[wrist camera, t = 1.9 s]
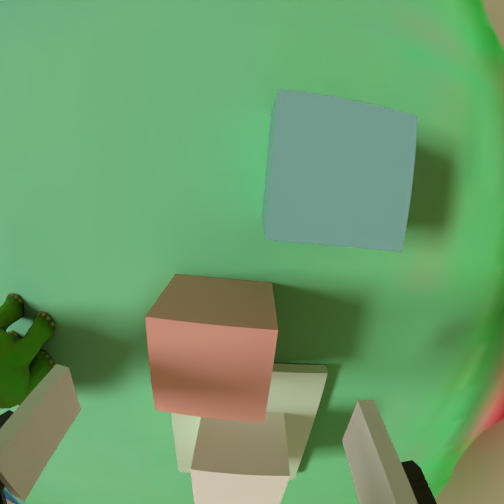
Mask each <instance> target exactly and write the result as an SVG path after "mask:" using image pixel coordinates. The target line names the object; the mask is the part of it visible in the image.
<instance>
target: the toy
mask: <svg viewBox="0 0 504 504" xmlns="http://www.w3.org/2000/svg"><path fill="white" fill-rule="evenodd" d="M23 313H24V307H23V302H22V300H21V299H20V298H19V296H18V295H15V294H9V295H8V296H7V298H6V301H5V302H4V304H3V305H2V306H1V307H0V408H11V407H13V406H16V405H18V404H19V405H21V403H22V402H23V401H24V400H25V399H26V398H27V396H28V395H29V394H30V393H31V392H32V391H33V390H34V389H35V387H36V386H37V385H38V384H39V383H40V382H41V381H42V380H43V378H44V377H45V376H46V375H47V374H48V373H49V372H50V371H51V370H52V368H53V367H54V366H55V364H54V363H53V360H52V359H51V358H50V357H49V355H48V354H46V353H45V352H44V351H41V352H39V350H40V349H41V347H42V345H43V344H44V343H45V341H47V340H48V339H50V338H51V337H52V336H53V334H54V329H55V326H54V323H53V322H52V320H51V318H50V316H47V315H46V313H44V312H43V313H42V312H38V314H37V316H36V317H35V319H34V322H33V324H32V326H31V327H30V329H29V330H28V332H27V333H26V335H25V337H23V338H22V339H19V337H18V334H17V333H15V332H13V331H11V332H9V331H8V333H7V332H6V329H7V328H8V327H9V326H10V325H11V324H12V323H14V322H15V321H17V320H19V319H20V318H22V316H23V315H24V314H23Z"/></svg>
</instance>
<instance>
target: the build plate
mask: <svg viewBox="0 0 504 504" xmlns="http://www.w3.org/2000/svg"><path fill="white" fill-rule="evenodd" d="M327 375H328V372H327V369H326V366H325V365H302V364H278V363H274V364H273V370H272V377H271V383H270V390H269V396H268V402H267V408H266V414H265V420H264V422H249V421H235V420H224V419H214V418H205V417H197V416H190V415H183V414H176V413H171V416H172V425H173V433H174V441H175V449H176V456H177V463H178V469H179V471H180V472H187V473H191V478H192V487H193V495H194V504H280V502H281V500H282V497H283V494H284V492H285V489H286V486H287V483H288V480H294V478H295V475H296V473H297V470H298V467H299V464H300V462H301V459H302V456H303V453H304V450H305V447H306V444H307V441H308V438H309V435H310V432H311V429H312V426H313V423H314V420H315V416H316V413H317V410H318V407H319V403H320V400H321V396H322V393H323V389H324V386H325V382H326V378H327Z"/></svg>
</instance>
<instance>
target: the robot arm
mask: <svg viewBox="0 0 504 504" xmlns="http://www.w3.org/2000/svg"><path fill="white" fill-rule="evenodd" d="M80 410H81V407H80V404H79V401H78V398H77V394H76V391H75V388H74V384H73V380H72V377H71V373H70V369H69V367H65V366H62V365H59V364H56V365H55V366H54V367H53V368H52V370H51V371H50V372H49V373H48V374H47V375H46V376H45V377H44V378H43V380H42V381H41V382H40V383H39V384H38V385H37V386H36V387H35V389H34V390H33V391H32V392H31V393H30V394H29V395H28V396H27V398H26V399H25V400H24V401H23V402H22V403H21V405H20V406H19V407H18V408H17V409H16V410H15V412H12V411H10V410H9V411H7V412H5V413H3V414H2V415H0V504H7V502H6V497H5V494H4V492H3V489H4V487H6V488H7V490H8V491H9V492H10V493H11V494H12V495H14V496H16V497H17V498H19V499H21V500H23V501H24V502H25V500H26V498H27V496H28V495H29V493H30V491H31V489H32V488H33V486H34V484H35V483H36V481H37V479H38V477H39V476H40V474H41V472H42V471H43V469H44V467H45V466H46V464H47V462H48V461H49V459H50V458H51V456H52V454H53V453H54V451H55V449H56V448H57V446H58V445H59V443H60V441H61V440H62V438H63V437H64V435H65V434H66V432H67V430H68V429H69V427H70V426H71V424H72V423H73V421H74V420H75V418H76V416H77V415H78V413H79V412H80ZM342 442H343V446H344V449H345V453H346V456H347V460H348V464H349V467H350V471H351V475H352V479H353V482H354V486H355V490H356V494H357V497H358V501H359V504H437V503H436V501H435V499H434V497H433V494H432V492H431V490H430V488H429V487H428V483H427V481H426V480H425V477H424V475H423V472H422V470H421V468H420V467H419V466H418V465H417V464H416V463H415V462H414V461H412V460H411V461H406V462H400V459H399V457H398V455H397V452H396V450H395V448H394V445H393V443H392V441H391V438H390V436H389V434H388V432H387V429H386V427H385V425H384V423H383V420H382V418H381V416H380V414H379V412H378V409H377V407H376V405H375V403H374V401H373V400H359V401H357V403H356V406H355V409H354V411H353V414H352V417H351V419H350V422H349V424H348V427H347V429H346V432H345V434H344V437H343V439H342Z"/></svg>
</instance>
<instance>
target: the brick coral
mask: <svg viewBox="0 0 504 504" xmlns="http://www.w3.org/2000/svg"><path fill="white" fill-rule="evenodd" d="M145 319H146V333H147V345H148V355H149V365H150V374H151V382H152V390H153V398H154V405H155V410H159V411H164V412H170V413H176V414H183V415H190V416H197V417H205V418H214V419H224V420H235V421H249V422H264V420H265V414H266V408H267V402H268V396H269V390H270V383H271V377H272V370H273V364H274V357H275V350H276V343H277V336H278V323H277V316H276V308H275V301H274V293H273V286H272V282H260V281H248V280H236V279H225V278H213V277H203V276H192V275H182V274H175V275H174V277H173V278H172V280H171V281H170V282H169V284H168V285H167V287H166V288H165V289H164V291H163V292H162V294H161V295H160V296H159V298H158V299H157V301H156V302H155V303H154V305H153V306H152V308H151V309H150V311H149V312H148V314H147V315H146V316H145Z"/></svg>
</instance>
